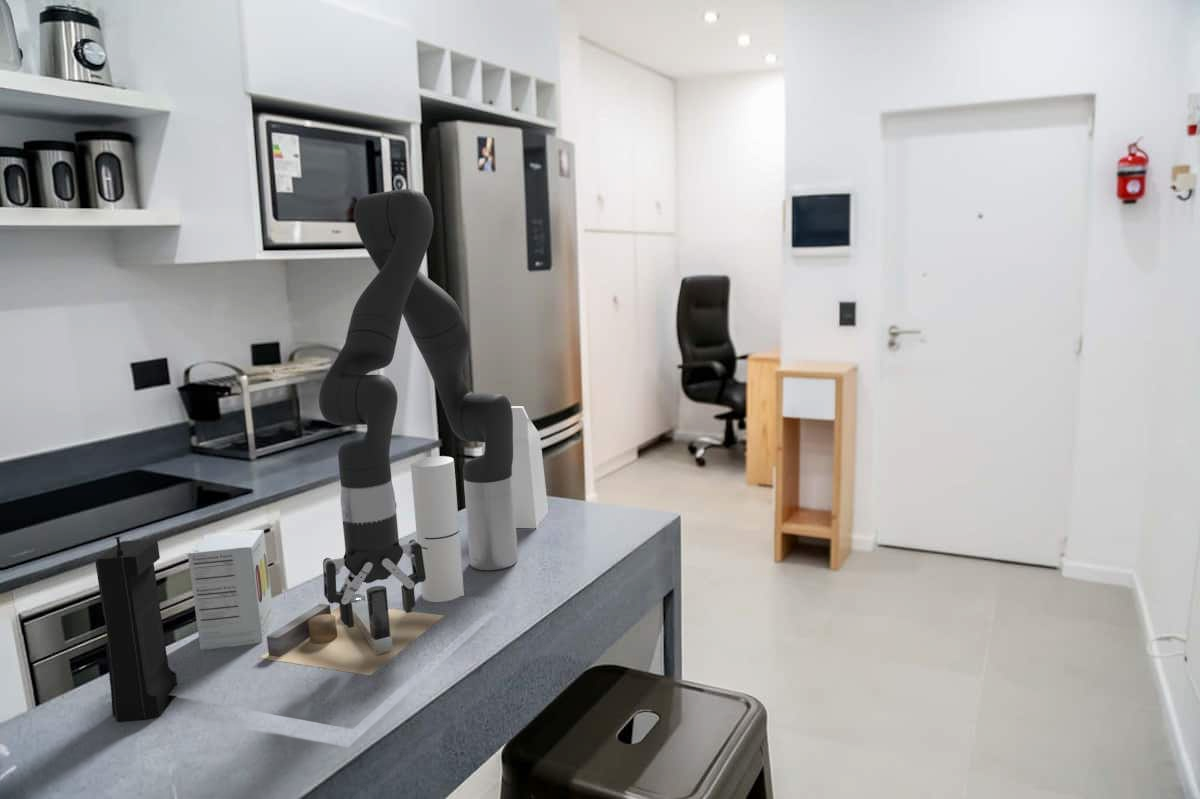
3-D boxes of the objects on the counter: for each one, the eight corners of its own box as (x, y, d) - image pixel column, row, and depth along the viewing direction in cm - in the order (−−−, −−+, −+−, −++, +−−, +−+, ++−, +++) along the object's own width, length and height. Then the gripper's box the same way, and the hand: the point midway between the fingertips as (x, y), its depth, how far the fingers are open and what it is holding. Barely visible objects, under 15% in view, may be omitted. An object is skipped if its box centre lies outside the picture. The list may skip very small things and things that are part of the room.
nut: (321, 630, 130) (319, 613, 130) (342, 633, 129) (340, 615, 128) (304, 642, 126) (302, 623, 126) (326, 645, 125) (324, 626, 124)
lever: (341, 610, 137) (336, 557, 135) (363, 604, 138) (358, 552, 137) (372, 655, 120) (366, 595, 119) (396, 648, 122) (391, 590, 120)
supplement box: (264, 651, 127) (251, 547, 124) (200, 659, 125) (185, 553, 123) (276, 625, 136) (264, 527, 134) (216, 632, 135) (204, 533, 132)
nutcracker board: (344, 611, 141) (342, 586, 140) (445, 624, 134) (442, 598, 133) (260, 667, 122) (256, 638, 121) (371, 685, 115) (368, 655, 115)
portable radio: (138, 692, 116) (113, 522, 112) (182, 688, 117) (158, 519, 113) (110, 723, 109) (82, 541, 104) (158, 719, 109) (131, 538, 105)
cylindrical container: (455, 611, 139) (444, 466, 135) (415, 609, 140) (403, 466, 136) (470, 593, 146) (460, 456, 142) (432, 592, 147) (421, 456, 143)
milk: (483, 528, 182) (475, 412, 177) (498, 512, 193) (491, 402, 188) (536, 529, 180) (529, 411, 175) (548, 512, 191) (542, 402, 186)
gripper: (409, 497, 125) (418, 598, 128) (312, 515, 118) (323, 621, 121) (425, 509, 119) (434, 615, 122) (323, 528, 112) (335, 640, 115)
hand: (379, 618), depth 121 cm, fingers open, 8 cm apart
